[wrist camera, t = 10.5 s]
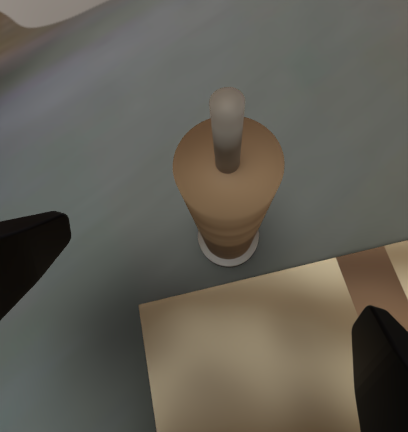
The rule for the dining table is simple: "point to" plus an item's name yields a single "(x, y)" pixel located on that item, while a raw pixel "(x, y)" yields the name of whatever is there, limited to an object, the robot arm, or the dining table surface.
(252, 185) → the awl
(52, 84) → the dining table surface
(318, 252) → the dining table surface
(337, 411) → the panel
